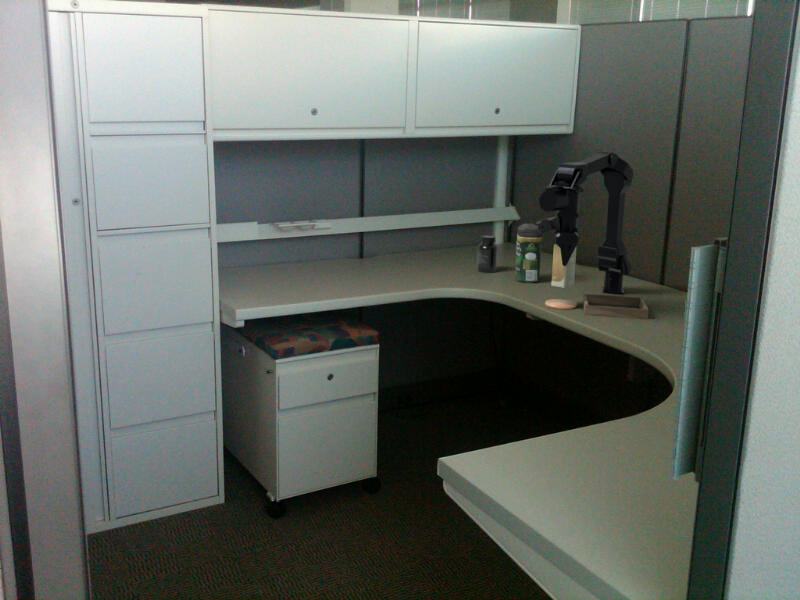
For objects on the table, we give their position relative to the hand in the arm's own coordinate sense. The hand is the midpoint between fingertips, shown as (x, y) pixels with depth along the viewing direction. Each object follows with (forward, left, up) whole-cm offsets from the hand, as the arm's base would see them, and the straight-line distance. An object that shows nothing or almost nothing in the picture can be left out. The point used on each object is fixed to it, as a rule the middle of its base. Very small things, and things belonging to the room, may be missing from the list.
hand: (564, 263), depth 230 cm
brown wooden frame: (+1, +15, -13) cm, 20 cm away
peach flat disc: (0, 0, -13) cm, 13 cm away
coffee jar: (-32, -11, -13) cm, 36 cm away
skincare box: (0, 0, -7) cm, 7 cm away
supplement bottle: (-43, -25, -13) cm, 51 cm away
